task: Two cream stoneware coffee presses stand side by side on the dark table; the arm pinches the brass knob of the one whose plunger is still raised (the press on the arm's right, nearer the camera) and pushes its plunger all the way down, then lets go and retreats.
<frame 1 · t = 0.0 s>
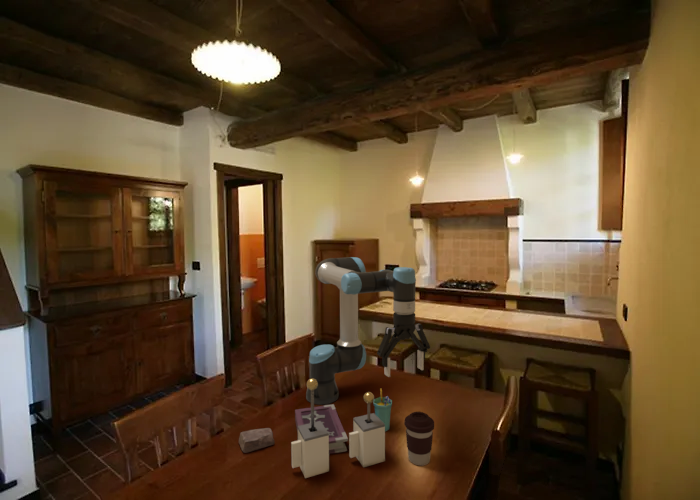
hand: (404, 372, 125), 28 cm above the table, fingers open, 13 cm apart
coffee cup: (419, 459, 121), on the table
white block: (368, 457, 122), on the table
plunger B: (368, 422, 121), point 12 cm above the table, slide at 7.0 cm
book: (319, 435, 136), on the table
cream joystick box: (313, 467, 117), on the table
stone: (256, 444, 130), on the table
cup: (383, 429, 139), on the table
plunger A: (312, 410, 116), point 19 cm above the table, slide at 0.0 cm
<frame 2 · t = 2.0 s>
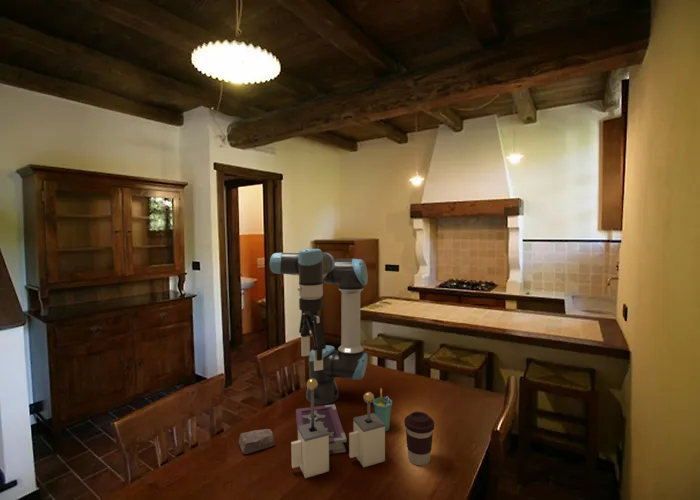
hand: (311, 362, 115), 35 cm above the table, fingers open, 13 cm apart
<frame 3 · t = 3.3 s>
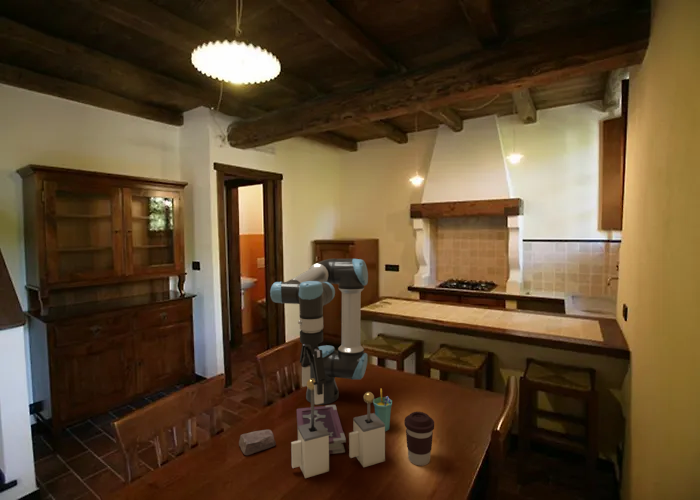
hand: (312, 394, 116), 25 cm above the table, fingers open, 13 cm apart
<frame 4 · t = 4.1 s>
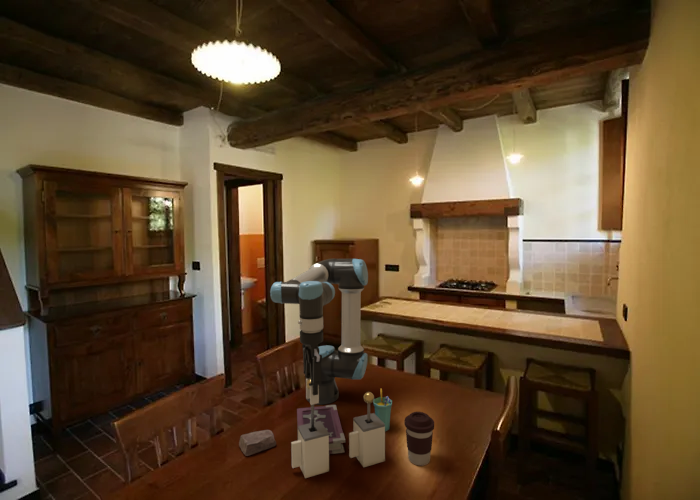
hand: (312, 400, 116), 23 cm above the table, fingers closed on plunger A, 4 cm apart
plunger A: (312, 410, 116), point 19 cm above the table, slide at 0.0 cm, touching gripper
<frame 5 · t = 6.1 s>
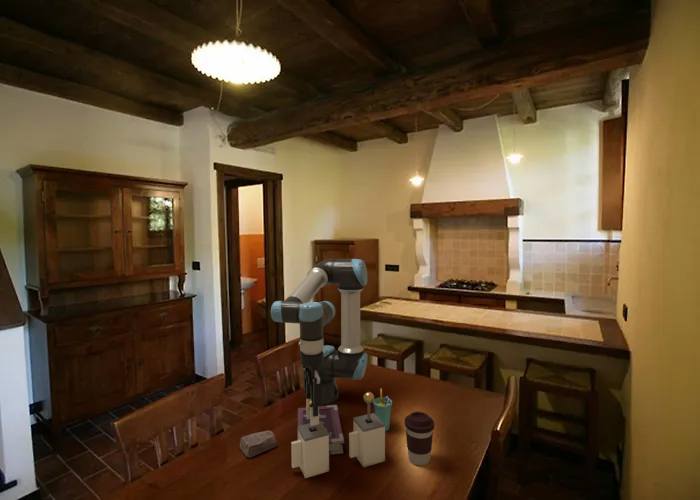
hand: (312, 421, 116), 16 cm above the table, fingers closed on plunger A, 4 cm apart
plunger A: (312, 431, 116), point 12 cm above the table, slide at 7.0 cm, touching gripper
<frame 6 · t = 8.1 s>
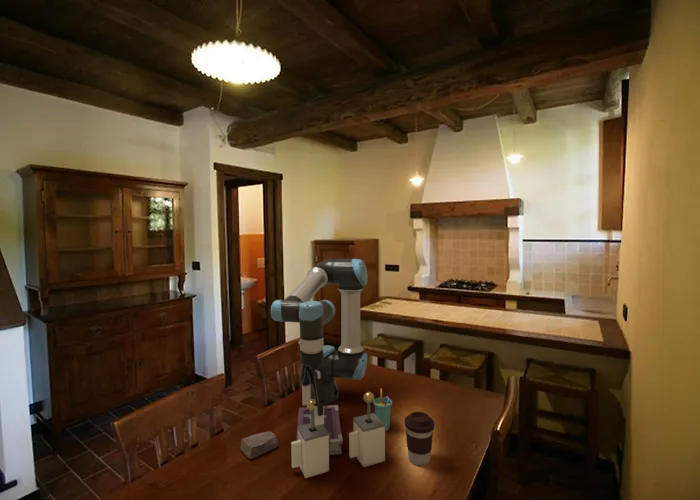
hand: (312, 413, 116), 18 cm above the table, fingers open, 13 cm apart
plunger A: (312, 431, 116), point 12 cm above the table, slide at 7.0 cm
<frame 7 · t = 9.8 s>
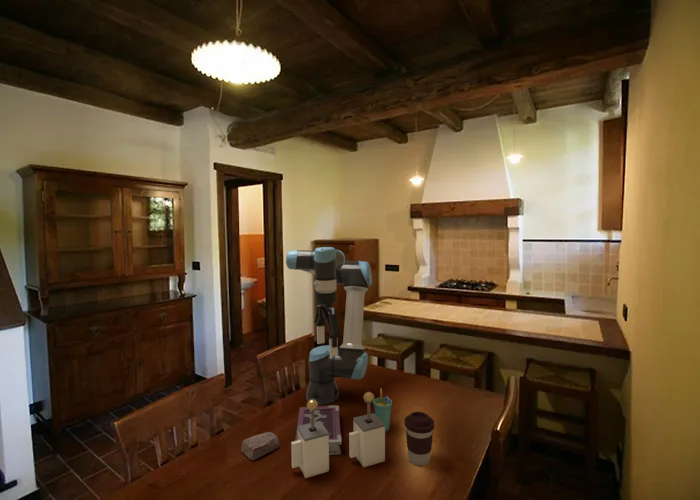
hand: (327, 349, 128), 35 cm above the table, fingers open, 13 cm apart
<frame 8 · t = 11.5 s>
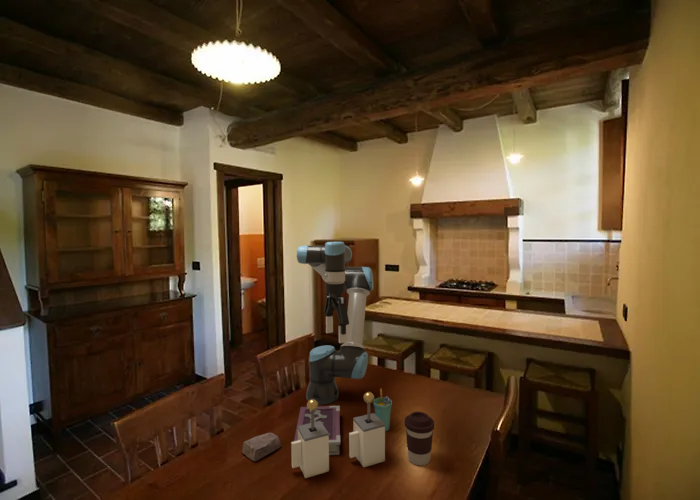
hand: (335, 337, 136), 37 cm above the table, fingers open, 13 cm apart
at the end: plunger A slide at 7.0 cm; the gripper is holding nothing; plunger B slide at 7.0 cm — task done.
